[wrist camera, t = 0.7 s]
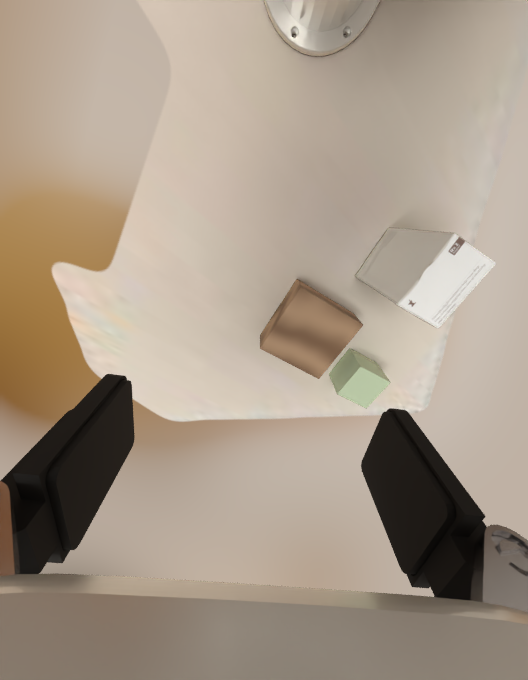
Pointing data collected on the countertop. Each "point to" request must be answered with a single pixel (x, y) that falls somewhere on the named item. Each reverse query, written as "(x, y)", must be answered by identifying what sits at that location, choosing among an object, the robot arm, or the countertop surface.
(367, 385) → the sage cube
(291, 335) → the walnut block
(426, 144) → the countertop surface
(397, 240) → the skincare box
